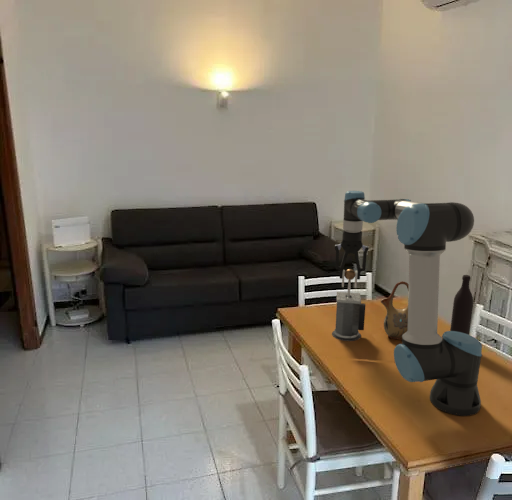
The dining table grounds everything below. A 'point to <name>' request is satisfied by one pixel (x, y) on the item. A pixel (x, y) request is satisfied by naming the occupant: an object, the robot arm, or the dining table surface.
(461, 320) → the wine bottle
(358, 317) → the french press
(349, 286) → the plunger
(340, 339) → the trivet
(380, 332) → the dining table surface
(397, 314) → the ceramic vessel
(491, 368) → the dining table surface
